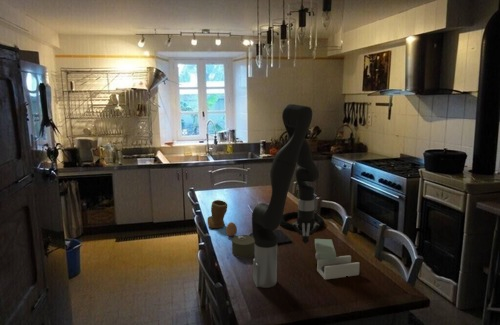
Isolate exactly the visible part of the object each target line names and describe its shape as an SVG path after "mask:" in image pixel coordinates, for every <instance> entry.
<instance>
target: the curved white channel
mask: <svg viewBox="0 0 500 325" xmlns="http://www.w3.org/2000/svg"><path fill="white" fill-rule="evenodd" d="M316 262H317V263H316V264H317V266H316V271H317V272H318V274H320V276H321V277H322V278H323V279H324V280H331V279H339V278H340V279H341V278H347V277H346V276H348V277H353V276H354V277H355V276H359V275H360V264H361V263H360V262H359V261H357V262H352V256H351V255H340V256H336V259H316Z"/></svg>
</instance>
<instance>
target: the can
mask: <svg viewBox="0 0 500 325" xmlns="http://www.w3.org/2000/svg"><path fill="white" fill-rule="evenodd" d="M231 250H232V252H231V253H232V255H233V256H234V257H237V258H240V257H241V258H242V259H244V258H245V259H246V258H252V257H255V240H254V237H253V235H248V234H240V235H236V236H235V235H234V236H232V238H231ZM241 258H240V259H241Z"/></svg>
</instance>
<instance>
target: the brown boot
mask: <svg viewBox="0 0 500 325" xmlns="http://www.w3.org/2000/svg"><path fill="white" fill-rule="evenodd" d="M210 207H211V209H210V212H211V215H210V216H208V217H207V218H206V219H207V226H208V227H209V228H211V229H219V228H223V227H224V226H225V220H224V218H225V215H226V214H227V211H228V210H227V209H228V203H227V202H226V201H224V200H220V199H215V200H214V201H212V202H211V206H210Z"/></svg>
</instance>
